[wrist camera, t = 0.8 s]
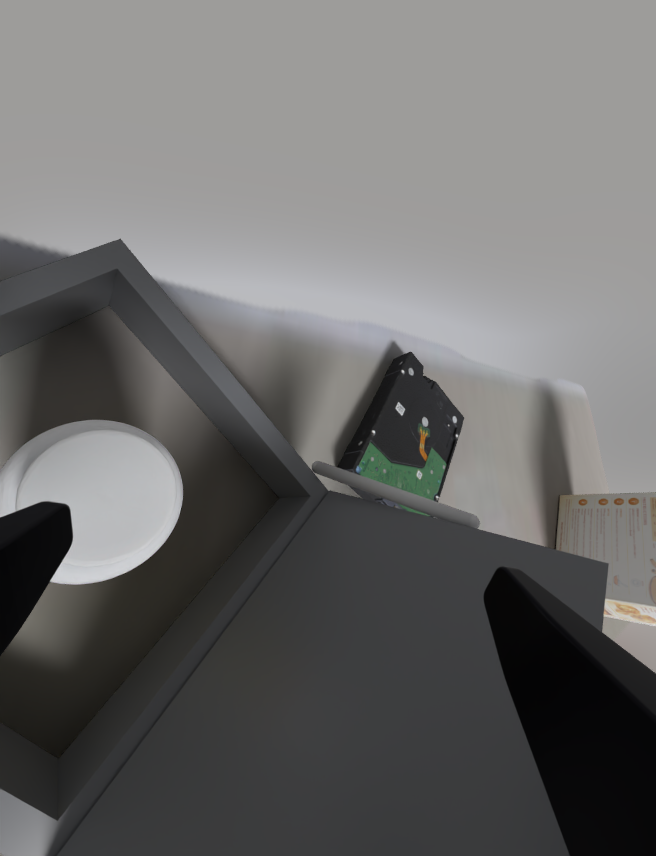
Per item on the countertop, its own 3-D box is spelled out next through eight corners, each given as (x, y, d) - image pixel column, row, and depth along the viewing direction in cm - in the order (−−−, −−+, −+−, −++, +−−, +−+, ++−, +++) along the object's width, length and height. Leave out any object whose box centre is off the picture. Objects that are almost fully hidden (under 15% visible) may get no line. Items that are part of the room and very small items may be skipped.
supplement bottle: (160, 466, 20) (224, 437, 12) (125, 566, 18) (173, 608, 10) (46, 434, 17) (33, 371, 10) (-10, 549, 16) (-86, 590, 8)
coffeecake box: (572, 611, 49) (801, 657, 34) (550, 589, 46) (788, 628, 31) (577, 517, 56) (767, 519, 41) (558, 493, 54) (754, 486, 39)
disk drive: (388, 358, 36) (329, 475, 28) (409, 348, 34) (352, 471, 26) (443, 422, 40) (405, 540, 32) (465, 416, 38) (430, 541, 30)
